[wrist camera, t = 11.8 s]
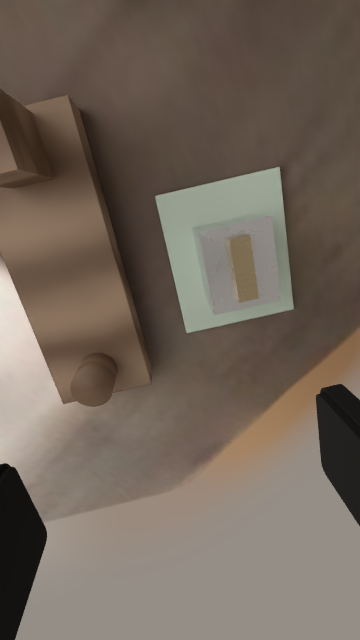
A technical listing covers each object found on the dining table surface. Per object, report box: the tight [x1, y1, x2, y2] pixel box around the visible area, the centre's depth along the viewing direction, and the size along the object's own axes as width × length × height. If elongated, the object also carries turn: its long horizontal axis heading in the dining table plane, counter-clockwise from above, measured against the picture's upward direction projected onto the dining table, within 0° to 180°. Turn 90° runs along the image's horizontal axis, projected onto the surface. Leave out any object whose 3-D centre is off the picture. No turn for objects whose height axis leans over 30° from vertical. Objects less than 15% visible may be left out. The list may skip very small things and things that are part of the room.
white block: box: [192, 214, 281, 315], centre depth 24 cm, size 6×5×6 cm
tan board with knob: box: [0, 89, 152, 407], centre depth 23 cm, size 22×8×9 cm, turn 12°
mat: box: [155, 167, 294, 333], centre depth 27 cm, size 12×10×1 cm
